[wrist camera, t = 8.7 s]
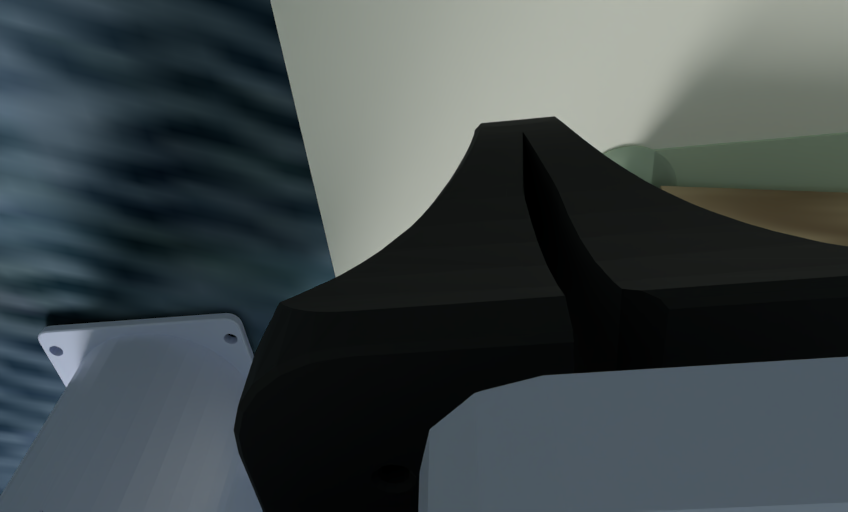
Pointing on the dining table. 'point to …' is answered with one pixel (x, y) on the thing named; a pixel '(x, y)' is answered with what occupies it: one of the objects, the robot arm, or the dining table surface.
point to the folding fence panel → (777, 210)
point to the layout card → (560, 94)
